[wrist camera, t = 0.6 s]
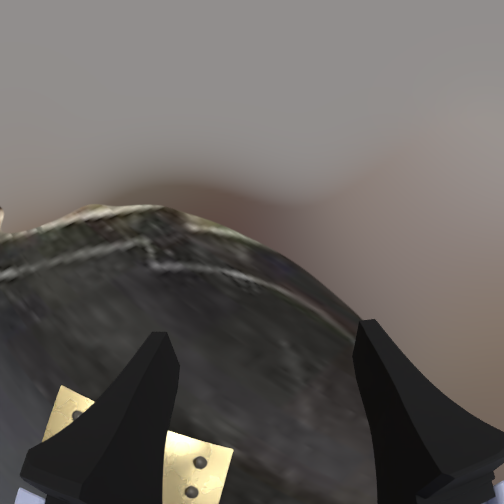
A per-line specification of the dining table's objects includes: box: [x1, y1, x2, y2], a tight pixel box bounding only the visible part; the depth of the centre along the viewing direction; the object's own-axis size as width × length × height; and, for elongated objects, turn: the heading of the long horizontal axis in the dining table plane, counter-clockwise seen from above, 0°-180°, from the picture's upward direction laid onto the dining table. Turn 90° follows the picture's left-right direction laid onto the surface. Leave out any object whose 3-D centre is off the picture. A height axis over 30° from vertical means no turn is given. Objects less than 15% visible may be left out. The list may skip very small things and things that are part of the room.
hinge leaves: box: [42, 385, 233, 504], centre depth 20 cm, size 7×16×3 cm, turn 76°
